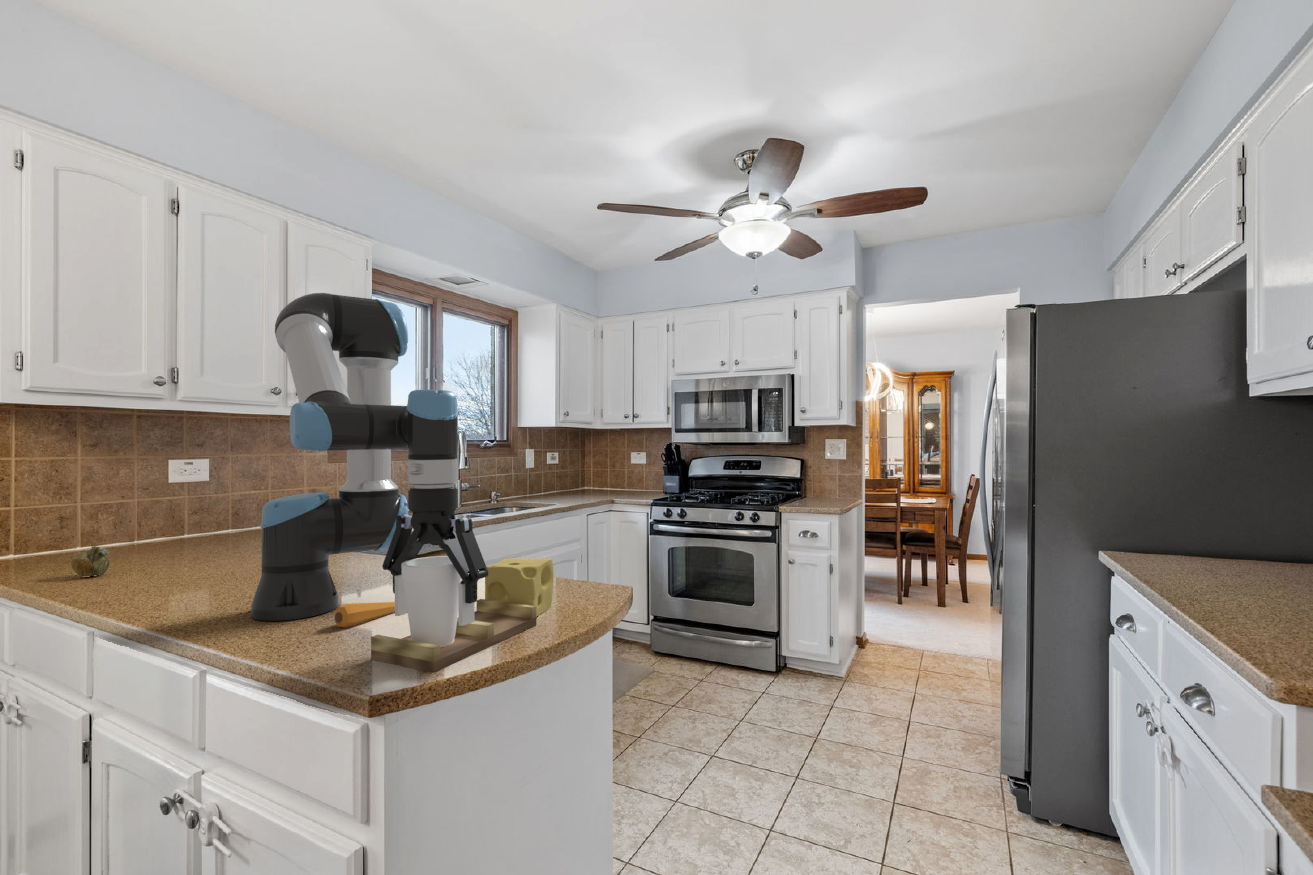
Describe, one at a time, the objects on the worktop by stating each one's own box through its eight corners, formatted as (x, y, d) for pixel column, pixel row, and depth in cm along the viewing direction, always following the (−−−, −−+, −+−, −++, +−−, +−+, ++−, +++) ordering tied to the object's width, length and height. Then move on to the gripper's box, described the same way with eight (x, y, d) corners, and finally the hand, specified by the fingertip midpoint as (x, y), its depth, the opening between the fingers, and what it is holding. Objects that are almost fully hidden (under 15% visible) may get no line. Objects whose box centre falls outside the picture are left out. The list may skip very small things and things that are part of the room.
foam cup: (413, 634, 102) (413, 556, 102) (470, 632, 103) (469, 555, 103) (393, 653, 93) (392, 568, 93) (455, 651, 93) (454, 566, 93)
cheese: (534, 621, 114) (534, 568, 115) (481, 618, 117) (481, 566, 117) (554, 606, 125) (554, 557, 125) (505, 604, 127) (505, 556, 127)
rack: (370, 659, 94) (370, 636, 94) (480, 616, 117) (480, 598, 117) (433, 672, 89) (433, 648, 89) (536, 625, 112) (536, 606, 112)
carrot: (341, 634, 109) (349, 612, 109) (326, 622, 111) (335, 600, 111) (426, 617, 127) (433, 597, 127) (412, 606, 129) (419, 587, 129)
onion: (112, 572, 162) (112, 542, 162) (110, 577, 155) (110, 545, 155) (73, 576, 157) (73, 545, 157) (68, 581, 151) (69, 549, 151)
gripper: (358, 486, 100) (359, 615, 99) (477, 489, 89) (478, 634, 89) (396, 483, 106) (396, 604, 106) (510, 486, 96) (511, 621, 96)
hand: (433, 618), depth 98 cm, fingers open, 13 cm apart
